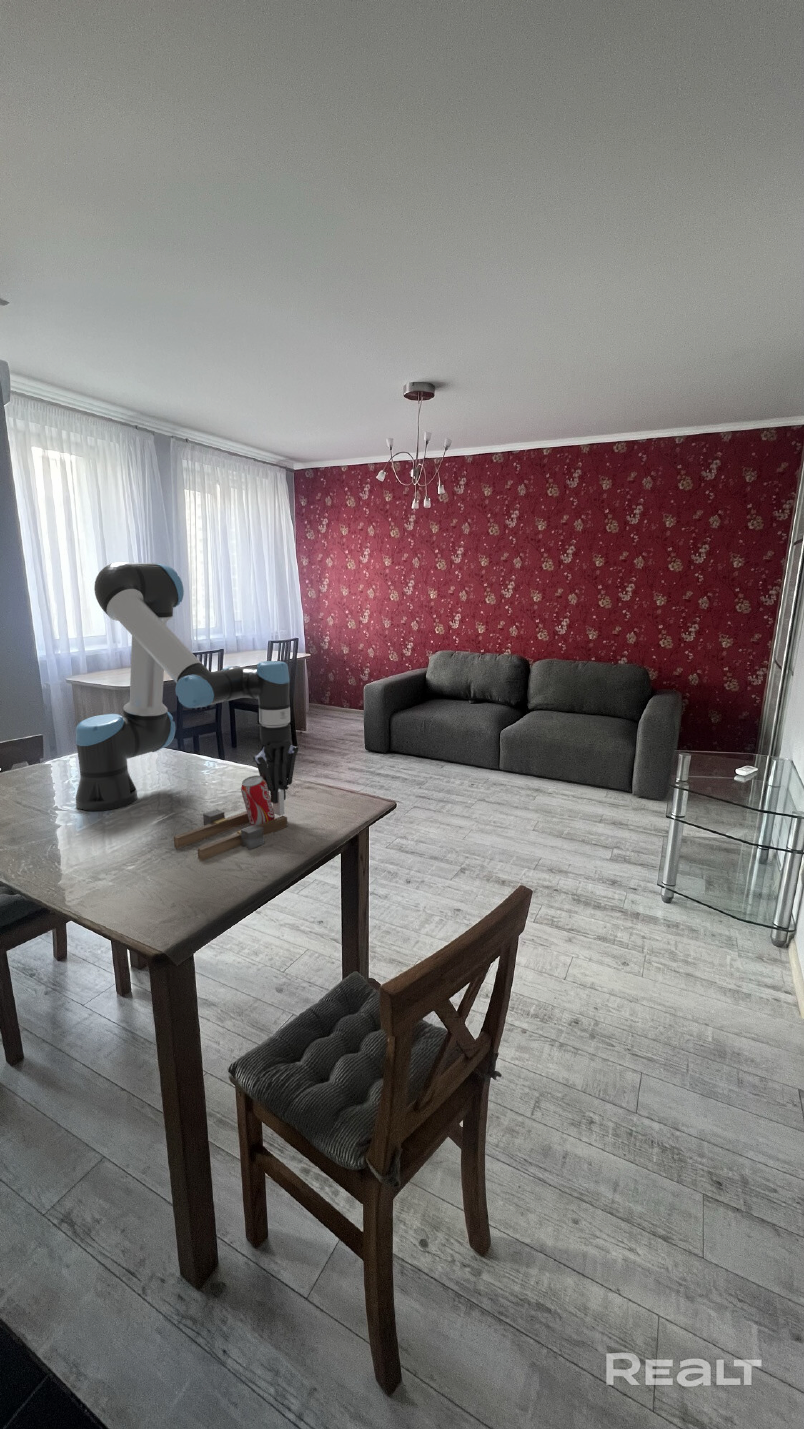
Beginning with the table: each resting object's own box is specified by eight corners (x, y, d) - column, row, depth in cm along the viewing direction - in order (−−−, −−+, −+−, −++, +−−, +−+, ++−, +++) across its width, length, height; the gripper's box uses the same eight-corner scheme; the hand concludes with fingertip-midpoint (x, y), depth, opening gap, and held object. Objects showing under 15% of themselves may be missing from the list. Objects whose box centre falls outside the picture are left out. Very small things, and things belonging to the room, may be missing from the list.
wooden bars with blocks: (166, 842, 137) (164, 826, 136) (250, 812, 156) (250, 798, 155) (211, 865, 126) (210, 847, 125) (296, 830, 145) (296, 814, 144)
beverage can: (269, 829, 144) (259, 787, 139) (246, 829, 146) (234, 787, 141) (279, 815, 150) (269, 773, 145) (256, 815, 151) (245, 774, 146)
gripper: (264, 731, 139) (268, 825, 144) (305, 721, 149) (307, 809, 154) (244, 726, 144) (248, 817, 149) (285, 717, 154) (288, 803, 159)
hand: (278, 813), depth 151 cm, fingers closed
